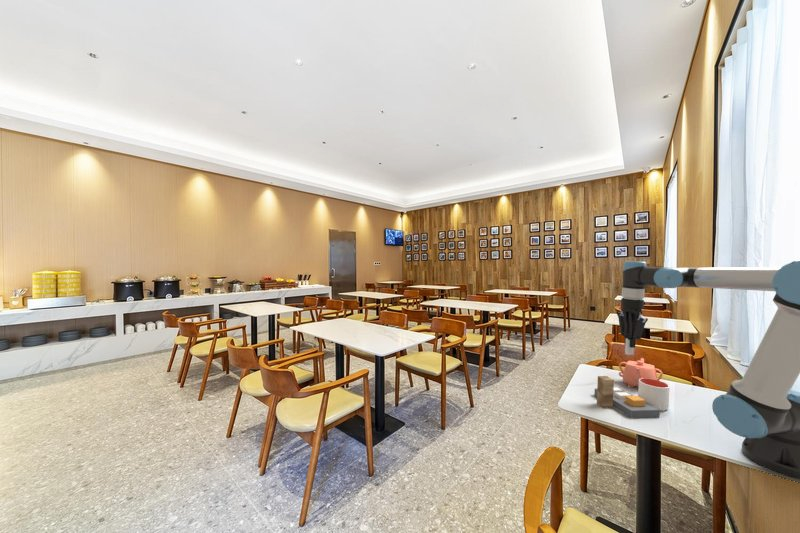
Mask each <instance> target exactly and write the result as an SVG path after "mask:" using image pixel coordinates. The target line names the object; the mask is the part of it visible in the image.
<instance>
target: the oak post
mask: <svg viewBox="0 0 800 533" xmlns="http://www.w3.org/2000/svg"><path fill="white" fill-rule="evenodd" d="M614 382H615V380H614V378H611V377H609V376H608V375H598V376H597V384H596V385H597V386H596V387H597V388H596V389H597V396H596V405H598V406H599V407H601V408H602V409H614V407H613V390H614V387H615V386H614V385H615V383H614Z"/></svg>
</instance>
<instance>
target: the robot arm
mask: <svg viewBox="0 0 800 533" xmlns="http://www.w3.org/2000/svg"><path fill="white" fill-rule="evenodd" d="M646 286H649V287H657V288H662V289H676V288H697V289H698V288H700V289H701V288H702V289H706V288H707V289H720V290H721V289H722V290H723V289H724V290H742V291H743V290H744V291H762V292H775V294H774V296H773V298H772V301H773V303H774V304H775V305H776V306H777V309H776V312H775V314H774V315H773V318H772V320H771V322H770V323H769V325H768V327H767V329H766V331H765V334H764V335H763V337H762V339H761V341H760V344H759V345H758V347H757V349H756V351H755V353H754V355H753V357H752V359H751V361H750V362H749V364H748V367H747V368H746V371H745V373H744V375H743V377H742V378H741V379H735V380H733V381H732V382H731V383H730V386H729V388H728V390H727V391H726V393H724V394H720V395H719V396H716V397H715V398H714V399H713V400H712V405H711V406H712V407H711V408H712V413H713V414H714V416H715V417H716V419H717V421H718V422H719V423H720V425H722V427H724V428H725V429H726V430H728V431H729V432H731V433H733V434H735V435H736V436H739V437H742V438H744V439H743V441H742V442H741V452H742V454H743V455H745V456H746V457H747V458H748V459H750V460H751V461H753V462H755V463H756V464H758V465H760V466H762V467H764V468H767V469H769V470H772V471H775V472H777V473H780V474H783V475H785V474H786V476H790V477H793V478H798V479H800V392H799V391H796V390H793V389H792V388H793V386H794V385H795V382H796V381H797V379H798V377H799V376H800V259H797V260H793V261H790V262H788V263H786V264H784V265H783V266H774V267H773V266H770V267H769V266H766V267H765V266H757V267H755V266H754V267H752V266H750V267H749V266H748V267H746V266H745V267H736V266H735V267H730V266H729V267H668V266H667V267H666V266H665V267H660V266H659V267H658V266H648V265H647V262H645V261H642V260H641V261H640V260H638V261H635V260H627V261H624V263H623V268H622V287H621V297H622V298H621V301H620V306H621V307H622V309H621V311H618V312H616V315H617V318H618V323H619V324H618V325H619V332H620V333H619V334H620V336H623V337H624V346H625V347H624V354H625V355H628V356H634V355H635V348H636V341H637V340H641V339H642V336H643V333H644V329H645V326H646V324H647V322H648V320H649V319H648V318H647V317H644V315H643V309H644V307H645V300H644V299H645V294H646V293H645V292H646Z"/></svg>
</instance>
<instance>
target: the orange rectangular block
mask: <svg viewBox="0 0 800 533" xmlns="http://www.w3.org/2000/svg"><path fill="white" fill-rule="evenodd" d="M625 403H627V404H629V405H630V406H632V407H645V400H644V399H642V398H640V397H638V395H633V396H625Z"/></svg>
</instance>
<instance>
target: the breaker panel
mask: <svg viewBox="0 0 800 533" xmlns="http://www.w3.org/2000/svg"><path fill="white" fill-rule="evenodd" d="M594 396H595V397H597V388H594ZM625 396H634V395H633V394H631V393H629V392H627V391H625V390H623V389H621V388H619V387H617V386H616V387H615V386H614V390H613V409H615V410H617V411H619V412H621V413H622V414H624V415H625V416H627V417H629V418H630V419H644V418H645V419H647V418H649V419H650V418H651V419H652V418H653V419H655V418H660V416H661V415H660V412H661V411H660V410H659V409H657V408H655V407H654V406H652V405H650V404H648V403H646V402H645V407H632V406H630V405H629V404H627V403H625Z"/></svg>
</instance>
